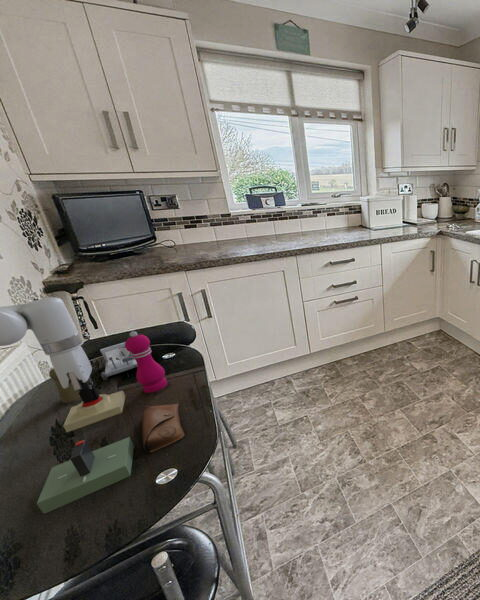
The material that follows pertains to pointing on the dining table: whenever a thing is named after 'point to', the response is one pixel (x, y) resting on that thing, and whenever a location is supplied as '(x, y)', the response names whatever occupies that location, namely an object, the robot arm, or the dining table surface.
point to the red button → (92, 402)
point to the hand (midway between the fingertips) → (91, 399)
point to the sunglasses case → (161, 426)
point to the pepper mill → (145, 363)
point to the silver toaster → (116, 360)
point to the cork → (65, 394)
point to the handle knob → (82, 457)
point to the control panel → (87, 476)
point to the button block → (95, 411)
